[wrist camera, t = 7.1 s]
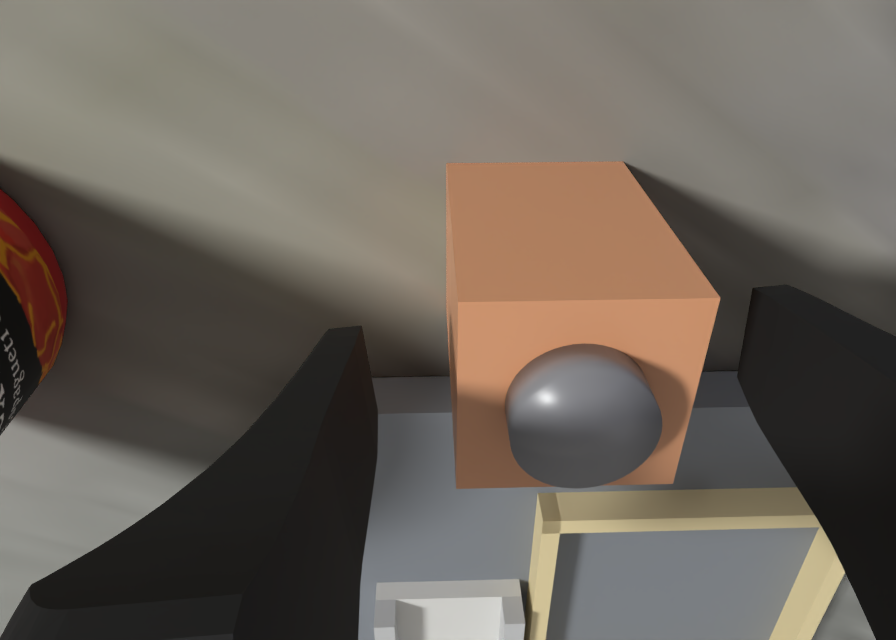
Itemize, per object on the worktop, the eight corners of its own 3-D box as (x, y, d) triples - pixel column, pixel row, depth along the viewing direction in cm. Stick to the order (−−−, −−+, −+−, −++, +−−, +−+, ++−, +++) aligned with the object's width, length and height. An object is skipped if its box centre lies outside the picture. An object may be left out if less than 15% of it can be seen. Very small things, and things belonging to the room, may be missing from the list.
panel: (879, 368, 19) (950, 444, 16) (736, 696, 28) (767, 777, 25) (299, 378, 18) (279, 458, 16) (348, 708, 28) (341, 791, 25)
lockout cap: (623, 161, 15) (741, 327, 10) (600, 310, 17) (687, 518, 12) (446, 162, 15) (460, 332, 10) (446, 313, 17) (458, 524, 12)
